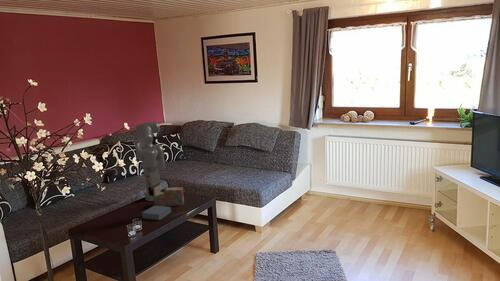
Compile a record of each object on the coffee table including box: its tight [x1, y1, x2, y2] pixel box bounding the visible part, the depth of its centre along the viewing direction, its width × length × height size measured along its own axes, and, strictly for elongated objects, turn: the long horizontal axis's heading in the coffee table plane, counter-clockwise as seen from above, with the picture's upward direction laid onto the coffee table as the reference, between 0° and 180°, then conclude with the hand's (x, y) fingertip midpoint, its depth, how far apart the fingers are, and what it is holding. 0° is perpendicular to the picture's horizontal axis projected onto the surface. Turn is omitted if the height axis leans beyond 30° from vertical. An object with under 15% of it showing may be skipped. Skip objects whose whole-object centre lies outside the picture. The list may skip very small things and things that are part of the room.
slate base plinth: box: [141, 205, 172, 221], centre depth 263 cm, size 14×14×4 cm
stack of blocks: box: [153, 186, 185, 207], centre depth 282 cm, size 21×6×12 cm, turn 88°
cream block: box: [147, 184, 162, 197], centre depth 260 cm, size 6×6×6 cm
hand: (154, 193), depth 260 cm, fingers closed on cream block, 6 cm apart
